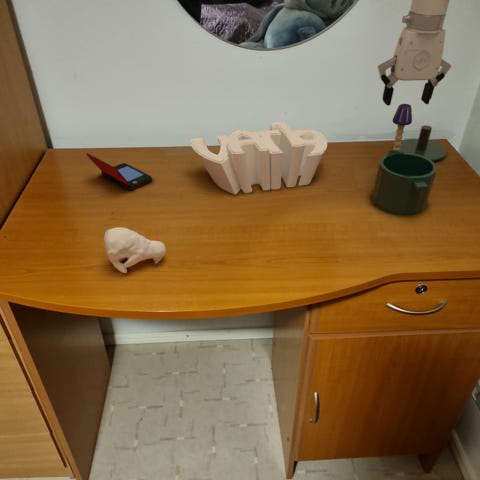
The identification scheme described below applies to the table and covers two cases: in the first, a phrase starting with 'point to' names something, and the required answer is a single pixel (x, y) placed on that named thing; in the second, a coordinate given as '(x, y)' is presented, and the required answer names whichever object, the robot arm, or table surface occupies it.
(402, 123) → the toy lamp
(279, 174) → the wavy white extrusion
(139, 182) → the handheld console
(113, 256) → the beige lumpy figure
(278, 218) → the table surface
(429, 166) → the pot
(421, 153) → the lid
